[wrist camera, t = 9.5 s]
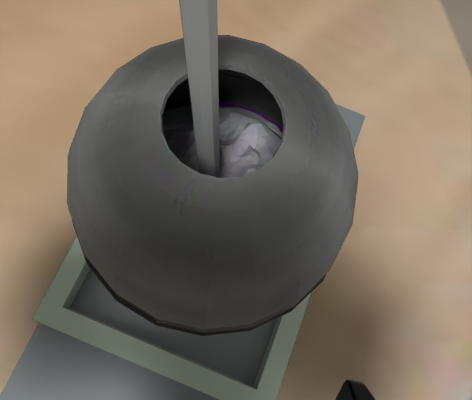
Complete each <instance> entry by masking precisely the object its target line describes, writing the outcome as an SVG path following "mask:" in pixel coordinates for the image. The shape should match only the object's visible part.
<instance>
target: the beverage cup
mask: <svg viewBox="0 0 472 400" xmlns="http://www.w3.org/2000/svg"><path fill="white" fill-rule="evenodd" d="M179 3H180V12H181V21H182V29H183V38H182V39H178V40H175V41H172V42H168V43H165V44H162V45H158V46H155V47H151V48H149V49H148V50H146V51H145V52H143V53H142V54H140V55H138V56H137V57H135V58H134V59H132V60H131V61H129V62H128V63H126V64H125V65H123V66H121V67H120V68H118V69H117V70H116V71H115V72H114V74H113V75H112V76H111V77H110V78H109V80H108V81H107V82H106V83H105V84H104V86H103V87H102V88H101V89H100V90H99V92H98V93H97V94H96V95H95V97H94V98H93V99H92V100H91V101H90V103H89V104H88V105H87V106H86V107H85V110H84V112H83V115H82V118H81V120H80V123H79V125H78V128H77V131H76V133H75V136H74V139H73V141H72V144H71V147H70V150H69V154H68V175H67V204H68V208H69V212H70V215H71V217H72V222H73V225H74V228H75V231H76V234H77V237H78V240H79V243H80V246H81V249H82V252H83V255H84V258H85V260H86V263H87V265H88V267H89V268H90V269H91V270H92V272H93V273H94V274H95V275H96V277H97V278H98V279H99V280H100V282H101V283H102V284H103V285H104V287H105V288H106V289H107V290H108V292H109V293H110V294H111V295H112V297H113V298H114V299H115V300H116V301H117V302H119V303H120V304H122V305H124V306H125V307H127V308H128V309H130V310H132V311H133V312H135V313H137V314H138V315H140V316H141V317H143V318H145V319H146V320H148V321H149V322H151V323H153V324H154V325H156V326H160V327H164V328H169V329H173V330H178V331H182V332H187V333H191V334H195V335H200V336H209V335H218V334H227V333H236V332H245V331H251V330H253V329H255V328H257V327H259V326H262V325H264V324H266V323H268V322H270V321H272V320H274V319H276V318H278V317H281V316H283V315H285V314H287V313H289V312H291V311H292V310H293V309H294V308H295V307H296V306H297V305H299V304H300V303H301V302H302V301H303V300H304V299H305V298H306V297H307V296H308V295H309V294H310V293H311V292H312V291H313V290H314V289H315V288H316V287H317V286H318V285H319V284H320V283H321V282H322V281H323V280H324V278H325V276H326V274H327V272H328V271H329V270H330V268H331V266H332V264H333V262H334V260H335V258H336V256H337V254H338V252H339V250H340V248H341V246H342V244H343V242H344V240H345V238H346V236H347V234H348V232H349V230H350V228H351V226H352V223H353V215H354V208H355V200H356V192H357V184H358V170H357V165H356V160H355V155H354V150H353V145H352V140H351V135H350V132H349V129H348V127H347V125H346V123H345V121H344V119H343V118H342V116H341V114H340V112H339V110H338V109H337V107H336V105H335V103H334V101H333V99H332V98H331V96H330V94H329V92H328V91H327V90H326V89H325V88H324V87H323V86H322V85H321V84H320V83H319V82H318V81H317V80H316V79H315V78H314V77H313V76H312V75H311V74H310V73H309V72H308V71H307V70H306V69H305V68H304V67H303V66H302V65H301V64H299V63H297V62H296V61H294V60H292V59H290V58H289V57H287V56H285V55H283V54H281V53H280V52H278V51H276V50H274V49H272V48H271V47H269V46H267V45H265V44H262V43H258V42H254V41H250V40H246V39H242V38H238V37H234V36H230V35H218V29H217V0H179Z"/></svg>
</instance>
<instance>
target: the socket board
mask: <svg viewBox="0 0 472 400" xmlns="http://www.w3.org/2000/svg"><path fill="white" fill-rule="evenodd" d="M335 105H336V107H337V109H338V110H339V112H340V114H341V116H342V118H343V119H344V121H345V123H346V125H347V127H348V129H349V132H350V135H351V140H352V145H353V150H354V148H355V145H356V142H357V139H358V136H359V133H360V130H361V127H362V124H363V121H364V118H365V116H364V115H361V114H359V113H356V112H354V111H351V110H349V109H346V108H344V107H342V106H339V105H337V104H335ZM311 293H312V292H311ZM311 293H310V294H309V295H308V296H307V297H306V298H305V299H304V300H303V301H302V302H301V303H300V304H299V305H297V306H296V307H295V308H294V309H293V310H292V311H291V312H289V313H287V314H285V315H283V316H281V317H278V318H276V319H274V320H272V321H270V322H268V323H266V324H264V325H262V326H259V327H257V328H255V329H253V330H251V331H245V332H236V333H227V334H218V335H209V336H200V335H195V334H191V333H187V332H182V331H178V330H173V329H169V328H164V327H160V326H156V325H154V324H153V323H151V322H149V321H148V320H146V319H145V318H143V317H141V316H140V315H138V314H137V313H135V312H133V311H132V310H130V309H128V308H127V307H125V306H124V305H122V304H120V303H119V302H117V301H116V300H115V299H114V298H113V297H112V295H111V294H110V293H109V292H108V290H107V289H106V288H105V287H104V285H103V284H102V283H101V282H100V280H99V279H98V278H97V277H96V275H95V274H94V273H93V272H92V270H91V269H90V268H89V267H88V265H87V263H86V260H85V258H84V255H83V252H82V249H81V246H80V243H79V240H78V237H76V239H75V241H74V243H73V245H72V246H71V248H70V250H69V252H68V254H67V256H66V257H65V259H64V261H63V263H62V265H61V267H60V268H59V270H58V272H57V274H56V276H55V278H54V279H53V281H52V283H51V285H50V287H49V289H48V291H47V292H46V294H45V296H44V298H43V300H42V302H41V303H40V305H39V307H38V309H37V311H36V313H35V314H34V316H33V318H32V320H35V321H37V322H39V325H38V326H37V328H36V330H35V332H34V334H33V336H32V338H31V339H30V341H29V343H28V345H27V347H26V349H25V351H24V353H23V354H22V356H21V358H20V360H19V362H18V364H17V366H16V367H15V369H14V371H13V373H12V375H11V377H10V379H9V380H8V382H7V384H6V386H5V388H4V390H3V392H2V393H1V395H0V400H276V398H277V395H278V392H279V389H280V386H281V383H282V380H283V377H284V374H285V371H286V368H287V365H288V362H289V359H290V356H291V353H292V350H293V347H294V344H295V341H296V338H297V335H298V332H299V329H300V326H301V323H302V320H303V317H304V314H305V311H306V308H307V305H308V302H309V299H310V296H311Z"/></svg>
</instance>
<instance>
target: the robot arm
mask: <svg viewBox="0 0 472 400" xmlns="http://www.w3.org/2000/svg"><path fill="white" fill-rule="evenodd" d="M335 400H375V398H374V397H373V395H372V394H371V393H370V391H369V390H368V388H367V387H366V386H365V385H364V384H363V383H362V382H358V381H353V380H346V381H345V382H344V384H343V386H342V388H341V389H340V391H339V393H338V395H337V397H336V399H335Z"/></svg>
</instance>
